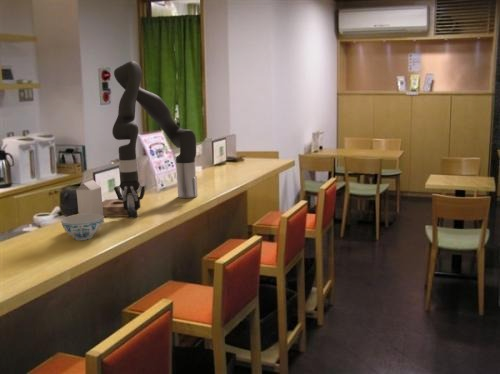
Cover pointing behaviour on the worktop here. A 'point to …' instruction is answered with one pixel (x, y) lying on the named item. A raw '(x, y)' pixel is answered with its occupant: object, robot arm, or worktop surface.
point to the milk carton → (90, 198)
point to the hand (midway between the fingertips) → (131, 209)
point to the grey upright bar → (131, 206)
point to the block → (114, 208)
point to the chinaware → (82, 225)
